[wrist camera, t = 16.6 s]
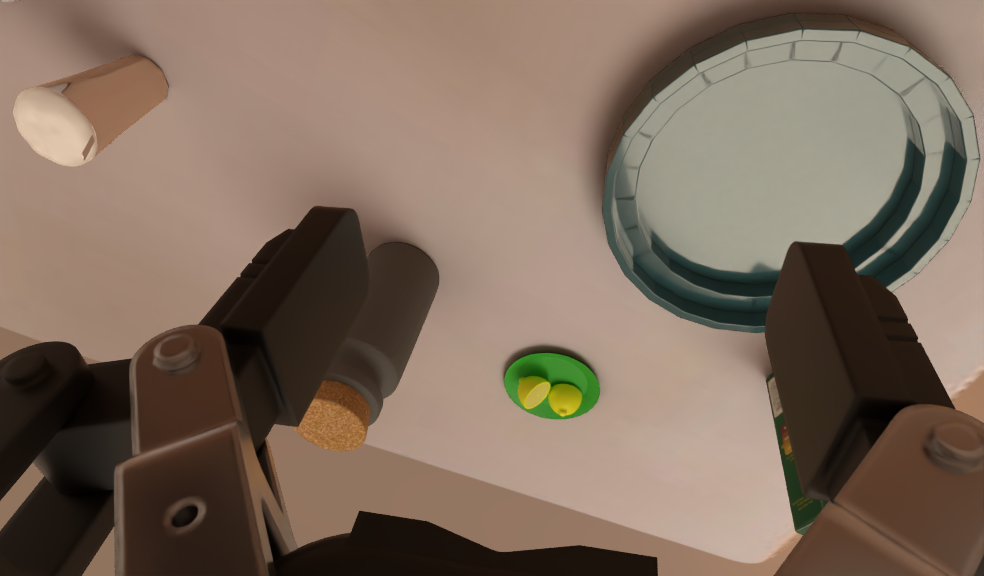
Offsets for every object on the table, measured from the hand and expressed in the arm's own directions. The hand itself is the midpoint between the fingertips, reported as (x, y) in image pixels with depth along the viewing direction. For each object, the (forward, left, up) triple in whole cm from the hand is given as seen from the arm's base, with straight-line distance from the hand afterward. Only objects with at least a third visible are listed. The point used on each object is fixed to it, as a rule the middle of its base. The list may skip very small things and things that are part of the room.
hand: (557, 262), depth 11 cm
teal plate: (+11, +11, -26) cm, 30 cm away
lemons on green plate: (+31, -1, -26) cm, 40 cm away
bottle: (+21, -13, -26) cm, 36 cm away
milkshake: (+7, -29, -26) cm, 40 cm away
